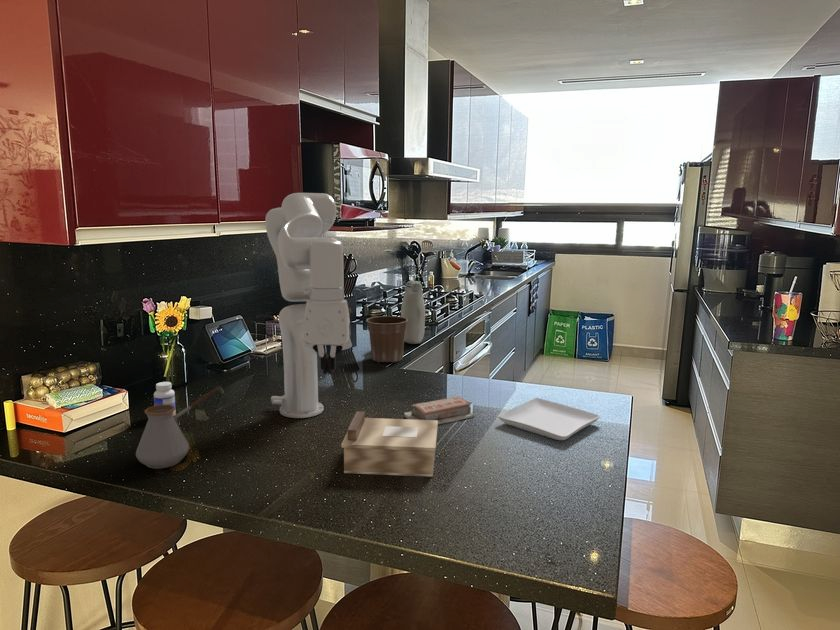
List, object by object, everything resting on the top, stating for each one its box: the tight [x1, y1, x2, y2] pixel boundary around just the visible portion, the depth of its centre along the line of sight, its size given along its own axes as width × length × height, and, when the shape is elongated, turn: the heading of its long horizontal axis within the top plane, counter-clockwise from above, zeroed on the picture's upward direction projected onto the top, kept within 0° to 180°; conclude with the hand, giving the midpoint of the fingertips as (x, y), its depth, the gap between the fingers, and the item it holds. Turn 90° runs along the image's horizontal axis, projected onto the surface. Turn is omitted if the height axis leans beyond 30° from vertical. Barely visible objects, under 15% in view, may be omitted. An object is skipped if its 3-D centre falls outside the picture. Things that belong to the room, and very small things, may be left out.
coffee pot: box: [135, 386, 225, 469], centre depth 136 cm, size 21×12×15 cm, turn 137°
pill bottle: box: [153, 381, 177, 416], centre depth 161 cm, size 5×5×10 cm
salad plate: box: [497, 397, 601, 441], centre depth 159 cm, size 21×21×3 cm
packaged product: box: [403, 396, 476, 425], centre depth 164 cm, size 18×5×10 cm
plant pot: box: [365, 315, 408, 363], centre depth 224 cm, size 16×16×16 cm
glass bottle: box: [400, 280, 426, 345], centre depth 249 cm, size 10×10×28 cm
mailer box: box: [343, 448, 436, 477], centre depth 136 cm, size 20×16×6 cm
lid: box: [340, 410, 439, 452], centre depth 135 cm, size 21×17×3 cm
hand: (328, 372), depth 133 cm, fingers closed
